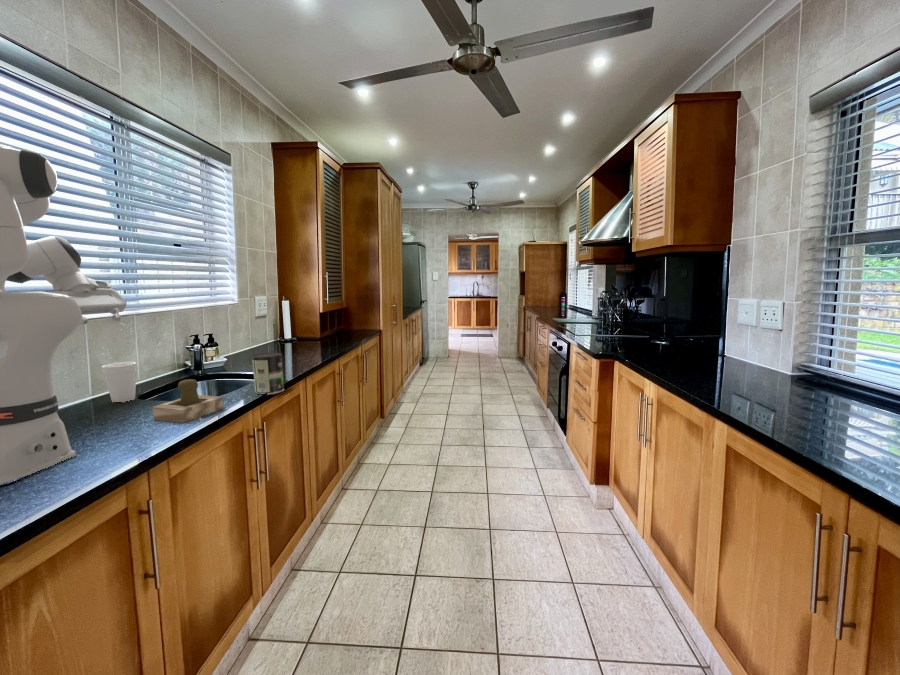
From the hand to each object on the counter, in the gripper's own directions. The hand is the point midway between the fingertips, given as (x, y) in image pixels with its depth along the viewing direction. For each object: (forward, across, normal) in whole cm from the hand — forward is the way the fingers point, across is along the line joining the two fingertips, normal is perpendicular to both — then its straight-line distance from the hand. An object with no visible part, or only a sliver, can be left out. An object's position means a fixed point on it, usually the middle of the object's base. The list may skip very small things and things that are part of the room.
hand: (102, 321), depth 127 cm
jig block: (+40, +4, +2) cm, 40 cm away
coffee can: (+44, +33, -2) cm, 55 cm away
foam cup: (+13, +10, +29) cm, 33 cm away
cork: (+41, +4, +1) cm, 41 cm away
